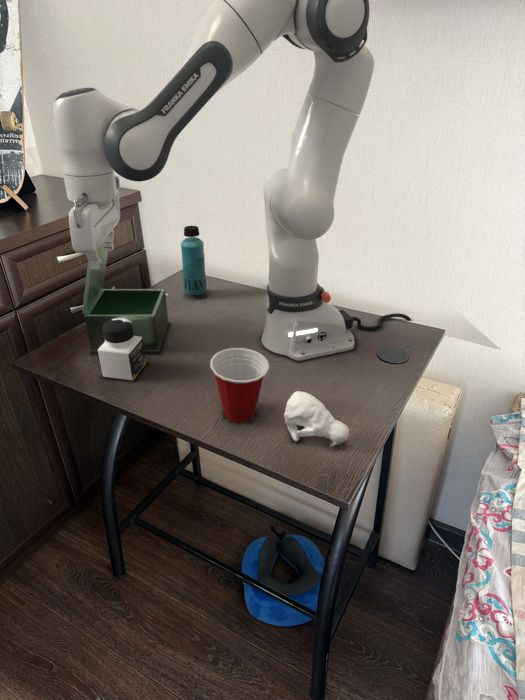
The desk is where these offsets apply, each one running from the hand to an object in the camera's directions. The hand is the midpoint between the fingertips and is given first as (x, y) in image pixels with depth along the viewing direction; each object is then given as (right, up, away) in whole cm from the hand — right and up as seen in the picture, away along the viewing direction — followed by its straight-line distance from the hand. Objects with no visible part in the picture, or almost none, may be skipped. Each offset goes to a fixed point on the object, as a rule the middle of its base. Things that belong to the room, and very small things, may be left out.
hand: (102, 259), depth 99 cm
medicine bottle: (+1, -23, +11) cm, 25 cm away
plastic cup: (+27, -31, -2) cm, 41 cm away
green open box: (0, -15, +24) cm, 28 cm away
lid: (-5, 0, +14) cm, 15 cm away
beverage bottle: (+12, -2, +45) cm, 47 cm away
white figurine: (+42, -34, -7) cm, 54 cm away
